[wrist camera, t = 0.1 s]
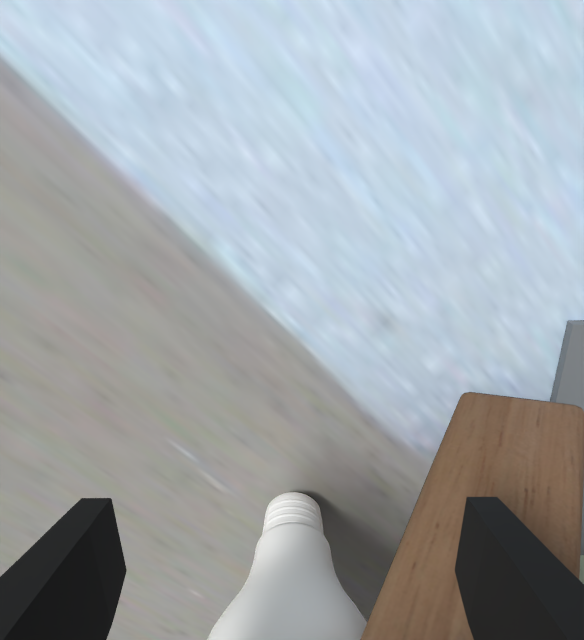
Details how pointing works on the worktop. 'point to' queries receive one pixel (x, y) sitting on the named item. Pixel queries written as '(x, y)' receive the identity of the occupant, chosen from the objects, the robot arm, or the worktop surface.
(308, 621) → the lightbulb
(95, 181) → the worktop surface
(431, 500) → the wooden block
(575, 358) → the mat
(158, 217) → the worktop surface
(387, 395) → the worktop surface
